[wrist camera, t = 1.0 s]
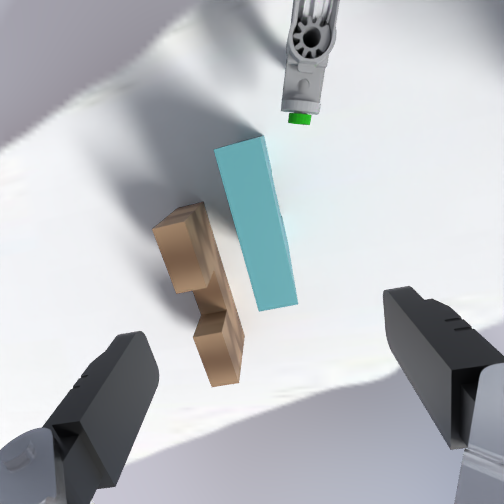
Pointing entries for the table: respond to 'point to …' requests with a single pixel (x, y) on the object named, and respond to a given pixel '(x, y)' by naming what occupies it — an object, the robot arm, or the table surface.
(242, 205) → the teal notched block
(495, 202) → the table surface
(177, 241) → the walnut slotted plate
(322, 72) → the mechanical component
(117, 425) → the robot arm
